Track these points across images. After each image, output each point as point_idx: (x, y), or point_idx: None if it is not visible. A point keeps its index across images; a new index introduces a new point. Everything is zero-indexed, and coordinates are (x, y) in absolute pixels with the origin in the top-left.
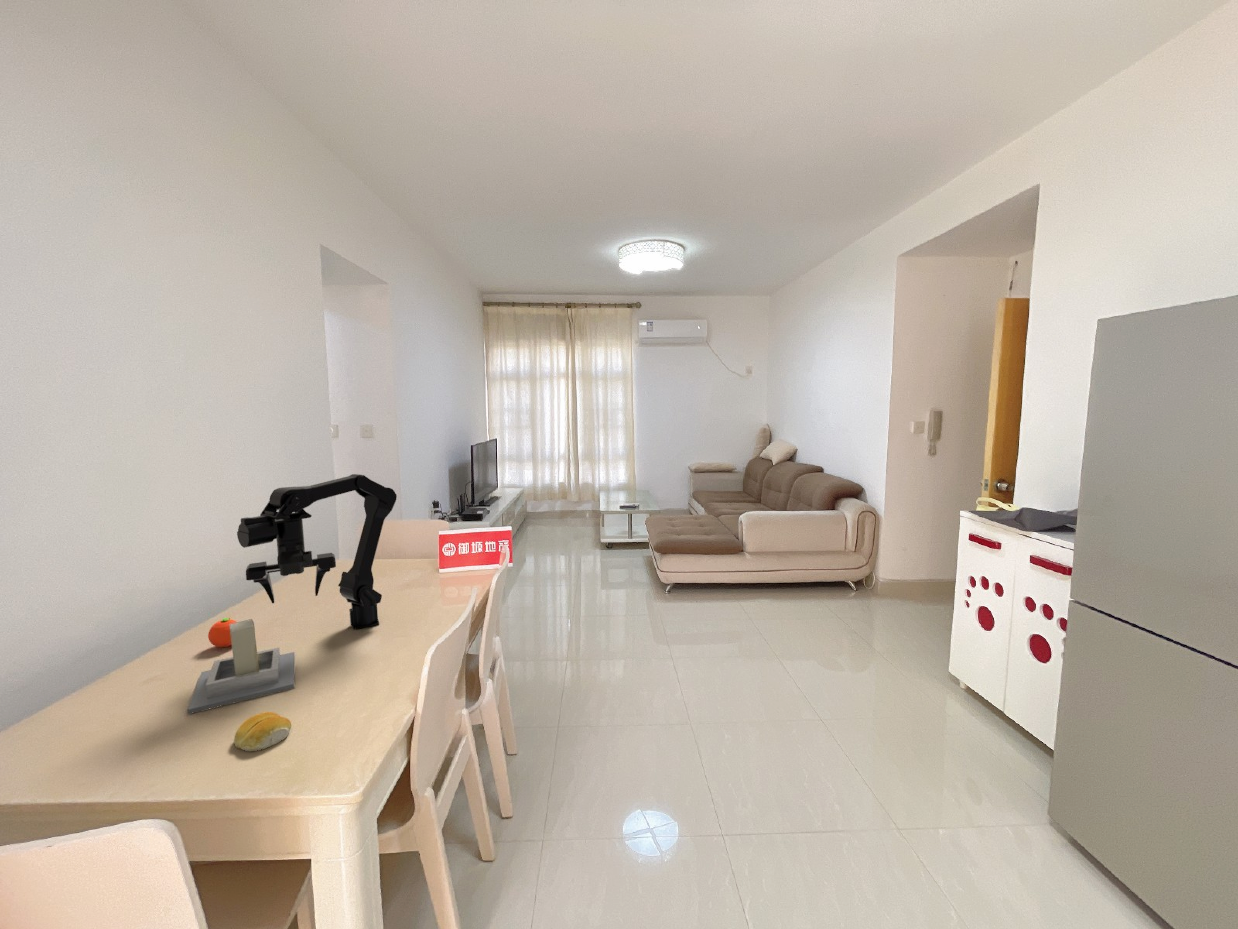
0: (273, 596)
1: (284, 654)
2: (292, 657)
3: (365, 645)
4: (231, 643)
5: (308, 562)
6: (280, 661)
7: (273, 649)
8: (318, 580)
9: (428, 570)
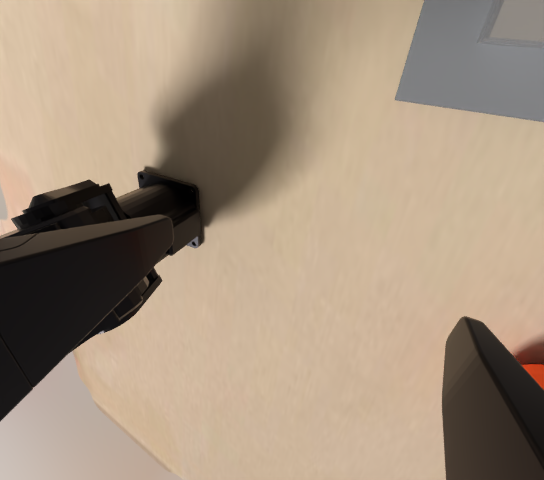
0: (477, 371)
1: (437, 99)
2: (424, 28)
3: (172, 10)
4: (536, 365)
5: None
6: (489, 7)
7: (533, 21)
8: (2, 251)
9: (87, 363)
